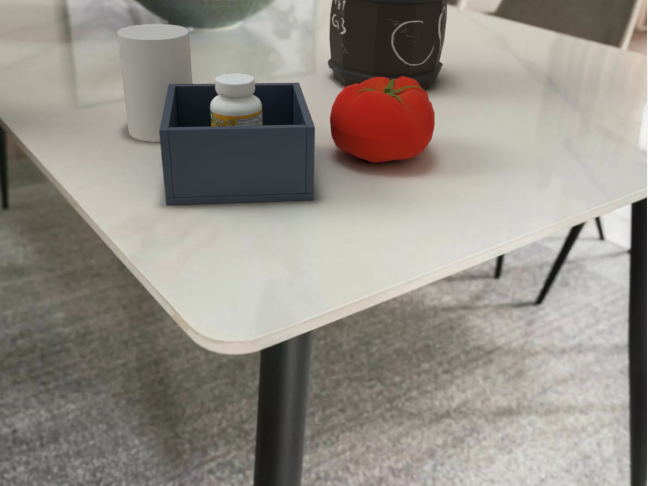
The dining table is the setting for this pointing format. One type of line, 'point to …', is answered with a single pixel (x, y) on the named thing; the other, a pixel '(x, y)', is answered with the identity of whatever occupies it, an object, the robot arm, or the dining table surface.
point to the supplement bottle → (235, 101)
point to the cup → (151, 73)
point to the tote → (237, 148)
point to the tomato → (382, 119)
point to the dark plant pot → (387, 39)
